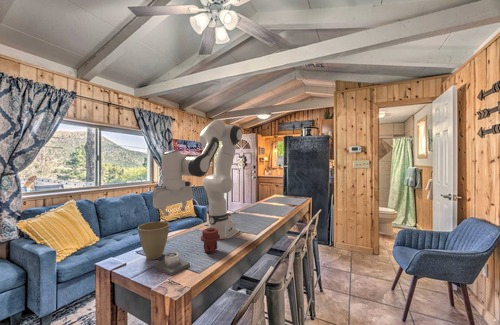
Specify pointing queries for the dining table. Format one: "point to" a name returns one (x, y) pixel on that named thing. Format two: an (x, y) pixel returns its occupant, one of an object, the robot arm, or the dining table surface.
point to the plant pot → (153, 238)
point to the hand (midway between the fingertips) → (174, 213)
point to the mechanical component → (210, 239)
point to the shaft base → (172, 269)
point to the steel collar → (172, 259)
